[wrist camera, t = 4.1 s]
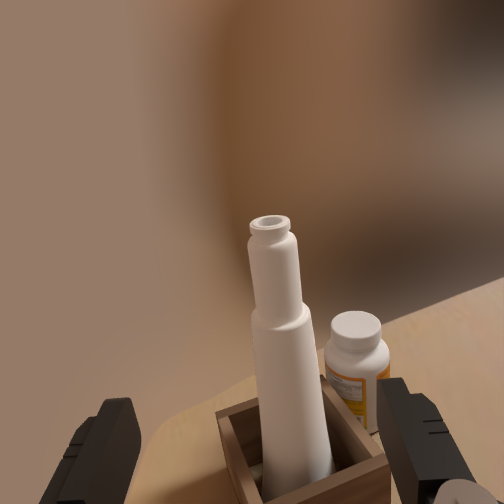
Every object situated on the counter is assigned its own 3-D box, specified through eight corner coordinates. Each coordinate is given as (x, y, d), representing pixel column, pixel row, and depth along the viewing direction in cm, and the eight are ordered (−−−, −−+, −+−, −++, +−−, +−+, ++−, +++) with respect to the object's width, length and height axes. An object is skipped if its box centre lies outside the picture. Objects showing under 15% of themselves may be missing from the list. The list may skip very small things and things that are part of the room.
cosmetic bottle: (260, 534, 29) (206, 248, 20) (263, 459, 35) (221, 209, 26) (347, 532, 29) (331, 236, 20) (336, 456, 34) (320, 198, 25)
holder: (390, 523, 29) (391, 462, 26) (266, 582, 26) (255, 521, 24) (325, 427, 37) (322, 374, 34) (226, 466, 34) (215, 412, 32)
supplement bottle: (372, 385, 41) (371, 300, 37) (401, 427, 36) (403, 334, 32) (320, 399, 40) (313, 313, 36) (341, 443, 35) (336, 350, 31)
